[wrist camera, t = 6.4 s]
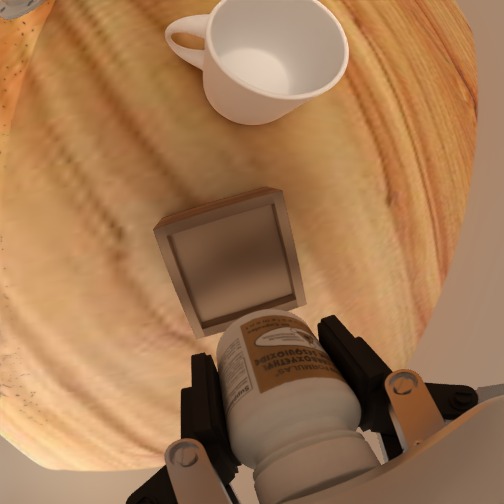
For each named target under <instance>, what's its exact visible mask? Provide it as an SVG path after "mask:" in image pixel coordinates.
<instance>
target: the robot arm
mask: <svg viewBox="0 0 504 504" xmlns="http://www.w3.org/2000/svg"><path fill="white" fill-rule="evenodd" d="M45 1H47V0H0V17H2V18H3V19H7V20H9V19H15V18H18V17H21V16H23V15H25V14H27V13H29V12H30V11H32V10H34V9H35V8H37V7H38V6H40V5H41V4H43V3H44V2H45ZM317 327H318V336H319V342H320V344H321V345H322V347H323V348H324V350H325V351H326V353H327V354H328V355H329V357H330V358H331V360H332V361H333V363H334V364H335V366H336V367H337V368H338V370H339V371H340V373H341V374H342V376H343V378H344V379H345V380H346V382H347V383H348V385H349V386H350V388H351V389H352V390H353V392H354V394H355V395H356V397H357V399H358V400H359V403H360V407H361V419H360V423H359V425H358V427H360V428H361V429H362V431H363V432H364V431H366V430H369V429H370V430H371V431H372V432H376V434H377V437H378V440H379V444H380V447H381V450H382V454H383V457H384V461H385V464H383V465H381V466H379V467H377V468H375V469H373V470H371V471H368V472H366V473H364V474H362V475H360V476H358V477H355V478H353V479H351V480H348V481H346V482H344V483H341V484H339V485H336V486H333V487H331V488H328V489H325V490H323V491H320V492H317V493H314V494H311V495H308V496H305V497H302V498H298V499H295V500H291V501H288V502H284V503H280V504H504V384H499V385H492V386H486V387H478V388H477V390H474V389H473V388H471V387H469V386H464V385H448V384H433V383H424V382H423V380H422V378H421V377H420V376H419V374H417V373H416V372H414V371H412V370H409V369H401V370H397V371H394V372H392V371H391V369H390V368H389V367H388V366H387V365H386V364H385V363H384V362H383V361H382V359H381V358H380V357H379V356H378V355H377V354H376V353H375V352H374V351H373V349H372V348H371V347H370V346H369V345H368V344H367V343H366V342H365V341H364V340H363V339H362V338H361V337H356V338H354V336H353V335H352V334H351V333H350V332H349V331H348V330H347V329H346V327H345V326H344V325H343V324H342V323H341V322H340V321H339V320H338V318H337V317H336V316H335V315H331V316H328V317H325V318H322V319H321V323H318V325H317ZM191 370H192V387H188V388H183V389H182V390H181V439H179V440H177V441H175V442H173V443H172V444H171V445H169V447H168V448H167V449H166V452H165V455H164V456H165V463H166V465H165V466H163V467H162V468H161V469H160V470H159V471H158V472H157V473H156V474H155V475H153V476H152V477H151V478H150V479H149V480H148V481H147V482H146V483H144V484H143V485H142V486H141V487H140V488H138V489H137V490H136V491H135V492H134V493H132V494H131V496H129V498H128V499H127V501H126V504H241V502H240V500H239V498H238V496H237V494H236V493H235V491H234V489H233V487H232V485H231V483H230V482H231V481H232V480H233V479H234V478H235V473H238V468H237V466H240V465H242V463H241V462H240V461H239V460H238V459H237V458H236V457H235V455H234V454H233V452H232V449H231V446H230V442H229V438H228V433H227V428H226V421H225V415H224V409H223V402H222V395H221V388H220V382H219V375H218V372H217V369H216V367H215V364H214V362H213V359H212V357H211V355H206V354H205V353H200V354H195V355H192V356H191Z"/></svg>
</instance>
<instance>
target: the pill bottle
mask: <svg viewBox="0 0 504 504" xmlns="http://www.w3.org/2000/svg"><path fill="white" fill-rule="evenodd" d="M216 356H217V367H218V375H219V382H220V388H221V395H222V402H223V409H224V415H225V421H226V428H227V433H228V438H229V442H230V446H231V449H232V452H233V454H234V455H235V457H236V458H237V459H238V460H239V461H240V462H241V463H242V464H244V465H245V466H247V467H249V468H251V469H254V472H253V479H254V481H255V484H254V487H255V491H256V494H257V497H258V500H259V503H260V504H280V503H284V502H288V501H291V500H295V499H298V498H302V497H305V496H308V495H311V494H314V493H317V492H320V491H323V490H325V489H328V488H331V487H333V486H336V485H339V484H341V483H344V482H346V481H348V480H351V479H353V478H355V477H358V476H360V475H362V474H364V473H366V472H368V471H371V470H373V469H375V468H377V467H379V466H381V464H380V462H379V460H378V459H377V457H376V455H375V454H374V452H373V451H372V449H371V447H370V446H369V444H368V442H366V441H365V439H364V437H363V436H362V435H361V434H360V433H358V432H356V429H357V428H358V425H359V423H360V419H361V407H360V403H359V400H358V399H357V397H356V395H355V394H354V392H353V390H352V389H351V388H350V386H349V385H348V383H347V382H346V380H345V379H344V378H343V376H342V374H341V373H340V371H339V370H338V368H337V367H336V366H335V364H334V363H333V361H332V360H331V358H330V357H329V355H328V354H327V353H326V351H325V350H324V348H323V347H322V345H321V344H320V342H319V341H318V340H317V338H316V337H315V336H314V334H313V333H312V331H311V330H310V328H309V327H308V325H307V324H306V323H305V322H304V321H303V320H302V319H301V318H299V317H298V316H296V315H295V314H293V313H290V312H287V311H283V310H276V309H265V310H260V311H256V312H253V313H250V314H247V315H245V316H243V317H241V318H239V319H238V320H236V321H235V322H233V323H232V324H231V325H230V326H229V327H228V328H227V329H226V331H225V332H224V333H223V335H222V337H221V338H220V341H219V343H218V346H217V353H216Z"/></svg>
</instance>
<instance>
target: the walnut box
mask: <svg viewBox="0 0 504 504" xmlns="http://www.w3.org/2000/svg"><path fill="white" fill-rule="evenodd" d="M153 231H154V234H155V236H156V239H157V242H158V245H159V248H160V251H161V253H162V256H163V259H164V261H165V264H166V267H167V269H168V272H169V275H170V277H171V280H172V282H173V285H174V287H175V290H176V292H177V295H178V297H179V300H180V302H181V305H182V307H183V309H184V312H185V314H186V317H187V319H188V321H189V323H190V326H191V328H192V330H193V333H194V335H195V337H196V339H199V338H203V337H206V336H210V335H213V334H217V333H220V332H224V331H226V329H227V328H228V327H229V326H230V325H231V324H232V323H233V322H235V321H236V320H238V319H239V318H241V317H243V316H245V315H247V314H250V313H253V312H256V311H260V310H265V309H276V310H283V311H289V310H292V309H295V308H297V307H300V306H303V305H306V304H307V303H306V298H305V293H304V288H303V283H302V278H301V273H300V268H299V263H298V258H297V254H296V249H295V244H294V240H293V235H292V231H291V226H290V222H289V218H288V213H287V209H286V205H285V201H284V196H283V192H282V190H278V189H274V188H270V187H264V188H260V189H257V190H253V191H249V192H246V193H242V194H239V195H235V196H232V197H228V198H225V199H221V200H218V201H215V202H211V203H208V204H205V205H202V206H198V207H195V208H192V209H189V210H186V211H183V212H179V213H176V214H173V215H170V216H167V217H164V218H162V219H161V220H160V221H159V223H158V224H157V225H156V226H155V228H154V229H153Z"/></svg>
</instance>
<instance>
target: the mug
mask: <svg viewBox="0 0 504 504" xmlns="http://www.w3.org/2000/svg"><path fill="white" fill-rule="evenodd" d="M173 33H188V34H192V35H195V36H198V37H201V38H203V39H204V40H205V50H195V49H189V48H185V47H182V46H179V45H177V44H176V43H174V42H173V41H172V39H171V35H172V34H173ZM165 38H166V41H167V43H168V45H169V46H170V48H171V49H172V50H173V51H174V52H175V53H176V54H177V55H178V56H179V57H181V58H182V59H183V60H185V61H187V62H188V63H190V64H192V65H194V66H195V67H197V68H199V69H201V70H202V71H203V87H204V92H205V95H206V97H207V99H208V101H209V103H210V104H211V105H212V107H213V108H214V109H215V110H216V111H217V112H218V113H219V114H221V115H222V116H223V117H225V118H227V119H228V120H231V121H233V122H236V123H239V124H245V125H261V124H266V123H269V122H272V121H275V120H277V119H279V118H281V117H282V116H284V115H286V114H287V113H289V112H291V111H292V110H294V109H296V108H297V107H299V106H301V105H303V104H304V103H306V102H308V101H310V100H311V99H313V98H315V97H317V96H319V95H320V94H322V93H324V92H326V91H327V90H329V89H330V88H332V87H333V86H334V85H335V84H336V83H337V82H338V81H339V80H340V79H341V77H342V75H343V74H344V72H345V70H346V67H347V63H348V57H349V48H348V42H347V38H346V35H345V32H344V30H343V28H342V26H341V25H340V23H339V22H338V20H337V19H336V17H335V16H334V15H333V14H332V13H331V12H330V11H329V10H328V9H327V8H326V7H325V6H324V5H323V4H321V3H320V2H319V1H317V0H221V1H220V2H219V3H218V4H217V5H216V6H215V8H214V9H213V10H212V12H211V14H201V15H193V16H188V17H184V18H181V19H178V20H176V21H174V22H173V23H171V24H170V25H169V26H168V27H167V29H166V31H165Z"/></svg>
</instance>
